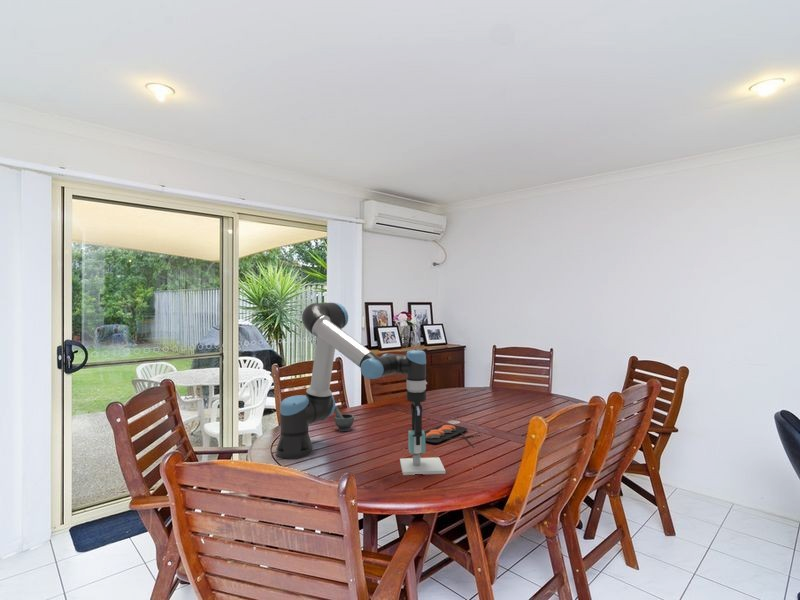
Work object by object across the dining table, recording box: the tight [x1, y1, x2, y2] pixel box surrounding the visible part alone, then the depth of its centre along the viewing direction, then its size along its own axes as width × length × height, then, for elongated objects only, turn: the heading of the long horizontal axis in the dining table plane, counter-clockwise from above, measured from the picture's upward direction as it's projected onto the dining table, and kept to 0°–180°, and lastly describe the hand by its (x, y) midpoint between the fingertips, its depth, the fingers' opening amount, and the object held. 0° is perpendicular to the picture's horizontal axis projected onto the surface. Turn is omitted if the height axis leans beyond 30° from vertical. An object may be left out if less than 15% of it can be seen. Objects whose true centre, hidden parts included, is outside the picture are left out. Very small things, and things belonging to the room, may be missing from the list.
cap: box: [407, 429, 426, 455], centre depth 173 cm, size 6×6×7 cm
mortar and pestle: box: [333, 405, 355, 432], centre depth 223 cm, size 11×9×12 cm
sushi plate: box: [423, 423, 481, 449], centre depth 209 cm, size 29×30×4 cm
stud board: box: [399, 453, 446, 476], centre depth 173 cm, size 16×14×6 cm
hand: (416, 449), depth 173 cm, fingers closed on cap, 6 cm apart
